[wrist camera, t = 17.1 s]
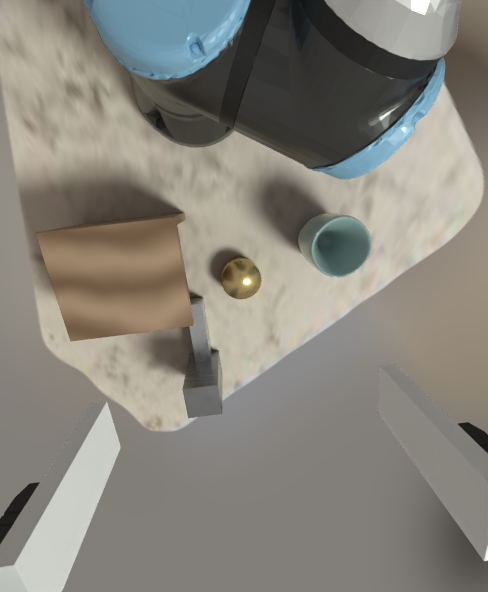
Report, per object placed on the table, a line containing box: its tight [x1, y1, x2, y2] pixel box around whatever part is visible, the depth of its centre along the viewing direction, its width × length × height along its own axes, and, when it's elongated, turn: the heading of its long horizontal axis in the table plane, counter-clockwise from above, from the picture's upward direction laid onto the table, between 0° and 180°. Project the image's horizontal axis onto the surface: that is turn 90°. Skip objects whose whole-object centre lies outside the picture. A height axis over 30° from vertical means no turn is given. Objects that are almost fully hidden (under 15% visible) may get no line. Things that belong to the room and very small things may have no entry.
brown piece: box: [35, 213, 194, 341], centre depth 42 cm, size 14×16×10 cm
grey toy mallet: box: [183, 298, 222, 418], centre depth 47 cm, size 15×5×10 cm, turn 6°
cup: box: [298, 213, 371, 278], centre depth 42 cm, size 8×8×10 cm
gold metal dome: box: [222, 257, 261, 299], centre depth 47 cm, size 6×6×3 cm
